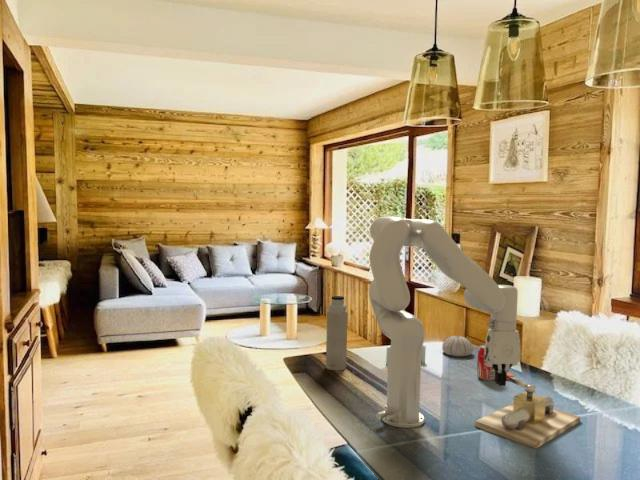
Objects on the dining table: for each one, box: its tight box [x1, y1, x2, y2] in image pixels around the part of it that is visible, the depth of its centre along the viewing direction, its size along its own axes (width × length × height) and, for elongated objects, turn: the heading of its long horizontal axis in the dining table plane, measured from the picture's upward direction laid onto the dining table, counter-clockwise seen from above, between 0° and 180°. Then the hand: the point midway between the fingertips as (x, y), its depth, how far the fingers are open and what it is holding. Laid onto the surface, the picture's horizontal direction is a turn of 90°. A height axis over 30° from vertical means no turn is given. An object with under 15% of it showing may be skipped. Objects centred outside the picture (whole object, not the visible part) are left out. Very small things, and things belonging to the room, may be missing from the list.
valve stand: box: [474, 391, 581, 450], centre depth 148 cm, size 28×18×9 cm, turn 131°
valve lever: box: [506, 372, 536, 394], centre depth 154 cm, size 15×3×2 cm, turn 16°
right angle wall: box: [385, 344, 427, 366], centre depth 206 cm, size 12×12×8 cm
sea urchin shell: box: [442, 335, 474, 358], centre depth 222 cm, size 13×14×8 cm
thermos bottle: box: [325, 295, 349, 371], centre depth 198 cm, size 8×8×28 cm
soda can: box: [476, 344, 495, 381], centre depth 189 cm, size 7×7×12 cm
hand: (500, 384), depth 156 cm, fingers closed
